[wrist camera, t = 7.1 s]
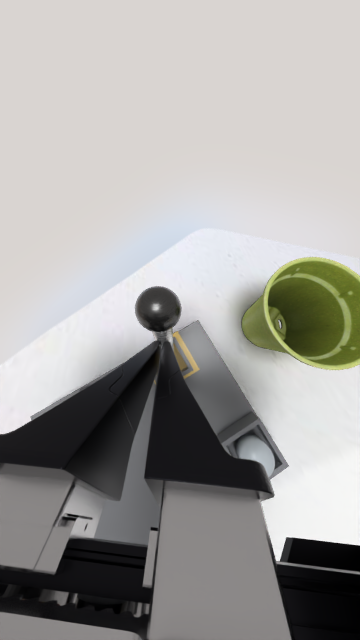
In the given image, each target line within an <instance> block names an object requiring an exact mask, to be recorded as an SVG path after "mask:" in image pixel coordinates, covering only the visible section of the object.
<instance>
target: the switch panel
mask: <svg viewBox="0 0 360 640" xmlns="http://www.w3.org/2000/svg"><path fill="white" fill-rule="evenodd" d="M173 345H174V354H175V356H176V359H177V362H178V364H179V367H180V370H181V372H182V375H183V377H184V379H185V381H186V383H187V385H188V387H189V389H190V390H191V392H192V394H193V396H194V397H195V399H196V401H197V402H198V404H199V406H200V408H201V409H202V411H203V413H204V415H205V416H206V418H207V420H208V421H209V423H210V425H211V427H212V428H213V430H214V432H215V434H216V435H217V437H218V439H219V440H220V442H221V444H222V446H223V447H224V449H225V450H226V452H227V453H229V454H230V455H231V456H233V457H235V458H238V457H237V453H236V446H237V443H238V441H239V439H240V438H241V437H242V436H244V435H246V434H254V435H256V436H258V437H260V438H261V439H262V440H263V442H264V443H265V444H266V445H267V446H268V447H269V449H270V450H271V451H272V453H273V456H274V460H275V467H274V471H273V473H272V475H271V476H270V477H269V479H272V478H273V477H274V476H276V475H277V474H279V473H280V472H281V471H283V470H284V469H286V468H287V467H288V466H289V465H288V464H287V462H286V460H285V459H284V457H283V456H282V454H281V452H280V451H279V449H278V447H277V446H276V444H275V443H274V441H273V439H272V438H271V436H270V434H269V433H268V431H267V430H266V428H265V426H264V425H263V423H262V422H261V420H260V418H259V417H258V416H257V415H256V413H255V412H254V410H253V409H252V407H251V405H250V404H249V402H248V400H247V399H246V397H245V396H244V394H243V392H242V391H241V389H240V387H239V386H238V384H237V383H236V381H235V379H234V378H233V376H232V375H231V373H230V371H229V370H228V368H227V366H226V365H225V363H224V362H223V360H222V358H221V357H220V355H219V353H218V352H217V350H216V349H215V347H214V345H213V344H212V342H211V340H210V339H209V337H208V336H207V334H206V332H205V331H204V329H203V327H202V326H201V324H200V323H199V321H198V320H197V321H196V322H194V323H192V324H191V325H189V326H187V327H185V328H184V329H182V330H180V331H177V332H175V333H173ZM121 365H122V364H121ZM121 365H119V366H121ZM119 366H118V367H119ZM158 366H159V365H158ZM118 367H116V368H118ZM116 368H114V369H112V370H111V371H109V372H107V373H106V374H104V375H102V376H100V377H99V378H97V379H95V380H93V381H92V382H90V383H88V384H86V385H85V386H83V387H81V388H79V389H78V390H76V391H74V392H73V393H71V394H69V395H67V396H66V397H64V398H62V399H60V400H59V401H57V402H55V403H53V404H52V405H50V406H48V407H46V408H45V409H43V410H41V411H40V412H38V413H36V414H34V415H33V416H31V420H33V419H35V418H37V417H38V416H40V415H42V414H43V413H45V412H47V411H48V410H50V409H52V408H53V407H55V406H56V405H58V404H60V403H61V402H63V401H65V400H66V399H68V398H70V397H71V396H73V395H75V394H76V393H78V392H80V391H81V390H83V389H85V388H86V387H88V386H90V385H91V384H93V383H94V382H96V381H98V380H99V379H101V378H103V377H104V376H106V375H107V374H109V373H110V372H112V371H113V370H115V369H116ZM157 373H158V370H157ZM157 373H156V376H155V379H154V382H153V385H152V387H151V390H150V393H149V396H148V399H147V402H146V405H145V408H144V411H143V414H142V417H141V420H140V423H139V426H138V429H137V432H136V434H135V437H134V441H133V444H132V448H131V452H130V457H129V462H128V467H127V472H126V477H125V482H124V487H123V492H122V497H121V500H120V502H119V501H110V500H106V501H105V504H104V507H103V510H102V514H101V517H100V520H99V523H98V526H97V530H96V533H95V536H94V538H96V539H104V540H112V541H120V542H128V543H136V544H144V545H148V543H149V536H150V529H151V527H156V528H158V524H159V515H160V506H159V505H158V503H157V502H156V500H155V498H154V496H153V494H152V492H151V490H150V488H149V487H148V485H147V483H146V481H145V479H144V473H145V466H146V458H147V450H148V443H149V435H150V427H151V419H152V412H153V404H154V396H155V389H156V381H157Z"/></svg>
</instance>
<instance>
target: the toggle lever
mask: <svg viewBox="0 0 360 640" xmlns="http://www.w3.org/2000/svg"><path fill="white" fill-rule="evenodd" d="M135 314H136V317H137V319H138V321H139V323H140V324H141V325H142V326H143V327H144V328H146V329H147V330H150V331H152V332H153V335H154V338H155V341H160V342H161V348H162V346H163V343H164V341H169V342H170V343H171V346H172V349H173V351H174V345H173V331H172V327H174V326H175V325H176V323H177V322H178V321H179V318H180V316H181V304H180V301H179V299H178V297H177V295H176V294H175V293H174V292H173V291H171V290H170V289H168V288H165V287H161V286H155V287H151V288H148V289H146V290H145V291H143V292H142V293H141V294H140V296H139V297H138V299H137V301H136V304H135Z"/></svg>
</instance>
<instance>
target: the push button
mask: <svg viewBox="0 0 360 640" xmlns="http://www.w3.org/2000/svg"><path fill="white" fill-rule="evenodd" d="M236 453H237V457H238V458H241V459H250V460H254V461H257V462H260V463H261V464H262V465H263V466H264V467H265V469H266V472H267V474H268V477H270V476H271V475H272V473H273V471H274V467H275V460H274V456H273V453H272V451H271V450H270V449H269V447H268V446H267V445H266V444H265V443H264V442H263V440H262V439H261V438H260V437H258V436H256V435H254V434H246V435H244V436H242V437H241V438H240V439H239V441H238V443H237V446H236Z"/></svg>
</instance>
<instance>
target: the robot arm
mask: <svg viewBox="0 0 360 640" xmlns="http://www.w3.org/2000/svg"><path fill="white" fill-rule="evenodd" d="M158 365H159V366H158ZM157 370H158V373H157ZM156 373H157V381H156V389H155V396H154V404H153V412H152V419H151V427H150V435H149V443H148V450H147V458H146V466H145V473H144V479H145V481H146V483H147V485H148V487H149V488H150V490H151V492H152V494H153V496H154V498H155V500H156V502H157V503H158V505H159V506H160V515H159V524H158V528H156V527H151V529H150V536H149V543H148V545H144V544H136V543H128V542H120V541H112V540H104V539H96V538H94V536H95V533H96V530H97V526H98V523H99V520H100V517H101V514H102V510H103V507H104V504H105V501H106V500H110V501H119V502H120V500H121V497H122V492H123V487H124V482H125V477H126V472H127V467H128V462H129V457H130V452H131V448H132V444H133V441H134V437H135V434H136V432H137V429H138V426H139V423H140V420H141V417H142V414H143V411H144V408H145V405H146V402H147V399H148V396H149V393H150V390H151V387H152V385H153V382H154V379H155V376H156ZM272 497H274V492H273V488H272V485H271V482H270V479H269V477H268V474H267V472H266V469H265V467H264V466H263V465H262V464H261V463H260V462H257V461H254V460H250V459H241V458H235V457H233V456H231V455H230V454H229V453H227V452H226V450H225V449H224V447H223V446H222V444H221V442H220V440H219V439H218V437H217V435H216V434H215V432H214V430H213V428H212V427H211V425H210V423H209V421H208V420H207V418H206V416H205V415H204V413H203V411H202V409H201V408H200V406H199V404H198V402H197V401H196V399H195V397H194V396H193V394H192V392H191V390H190V389H189V387H188V385H187V383H186V381H185V379H184V377H183V375H182V372H181V370H180V367H179V364H178V362H177V359H176V356H175V354H174V351H173V349H172V346H171V343H170V342H169V341H164V343H163V346H162V348H161V342H160V341H154V342H152V343H151V344H150V345H148V346H147V347H146V348H144V349H143V350H141V351H140V352H139V353H137V354H136V355H134V356H133V357H132V358H130V359H129V360H128V361H126V362H125V363H123V364H122V365H121V366H119V367H118V368H116V369H115V370H113V371H112V372H110V373H109V374H107V375H106V376H104V377H103V378H101V379H99V380H98V381H96V382H94V383H93V384H91V385H90V386H88V387H86V388H85V389H83V390H81V391H80V392H78V393H76V394H75V395H73V396H71V397H70V398H68V399H66V400H65V401H63V402H61V403H60V404H58V405H56V406H55V407H53V408H52V409H50V410H48V411H47V412H45V413H43V414H42V415H40V416H38V417H37V418H35V419H33V420H32V421H30V422H28V423H27V424H25V425H23V426H22V427H20V428H18V429H16V430H15V431H12V432H10V433H6V434H0V640H360V546H358V545H350V544H341V543H333V542H325V541H316V540H308V539H300V538H289V537H286V541H285V545H284V548H283V552H282V555H281V559H280V562H278V561H276V560H275V556H274V552H273V548H272V544H271V540H270V536H269V532H268V528H267V524H266V520H265V516H264V512H263V508H262V504H261V501H263V500H266V499H269V498H272ZM23 599H26V600H23ZM39 601H41V602H44V603H38V602H39ZM57 604H60V606H58V605H57Z"/></svg>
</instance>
